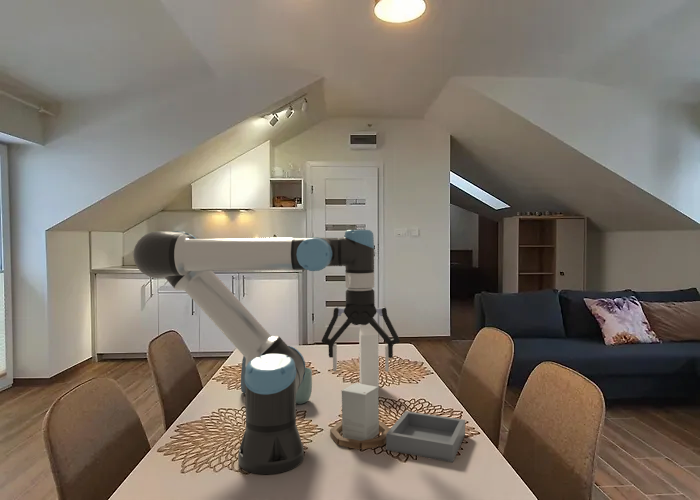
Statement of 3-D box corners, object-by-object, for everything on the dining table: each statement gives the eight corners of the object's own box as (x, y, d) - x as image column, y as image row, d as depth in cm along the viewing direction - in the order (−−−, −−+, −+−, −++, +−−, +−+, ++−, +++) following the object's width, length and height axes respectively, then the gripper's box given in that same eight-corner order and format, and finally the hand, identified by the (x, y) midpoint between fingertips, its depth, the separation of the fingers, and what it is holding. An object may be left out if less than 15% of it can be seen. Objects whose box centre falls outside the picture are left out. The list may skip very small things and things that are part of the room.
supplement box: (379, 433, 123) (379, 386, 123) (365, 444, 117) (365, 394, 117) (356, 427, 127) (355, 382, 127) (341, 437, 121) (340, 389, 120)
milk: (378, 389, 159) (378, 325, 158) (361, 390, 158) (361, 326, 158) (376, 383, 165) (376, 322, 164) (359, 384, 165) (359, 322, 164)
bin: (452, 462, 107) (452, 445, 107) (386, 449, 114) (386, 433, 114) (465, 434, 122) (465, 419, 122) (405, 425, 129) (405, 410, 128)
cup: (308, 406, 143) (307, 374, 143) (284, 405, 145) (283, 373, 144) (314, 398, 151) (314, 367, 150) (292, 396, 152) (291, 366, 152)
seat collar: (377, 452, 112) (377, 446, 112) (322, 442, 118) (322, 436, 118) (396, 429, 126) (396, 423, 126) (346, 420, 132) (346, 415, 132)
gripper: (407, 287, 124) (407, 366, 124) (314, 287, 126) (315, 365, 126) (409, 290, 116) (409, 374, 117) (310, 290, 118) (311, 373, 119)
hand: (360, 369), depth 122 cm, fingers open, 13 cm apart
